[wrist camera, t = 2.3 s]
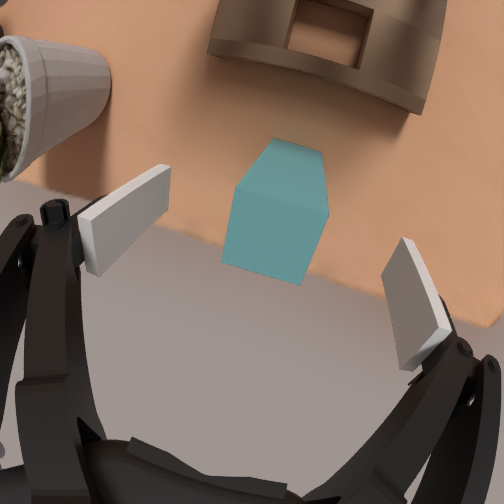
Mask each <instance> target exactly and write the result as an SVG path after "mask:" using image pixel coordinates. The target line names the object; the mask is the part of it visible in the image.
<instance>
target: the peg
mask: <svg viewBox="0 0 504 504" xmlns="http://www.w3.org/2000/svg"><path fill="white" fill-rule="evenodd" d="M328 216H329V209H328V199H327V191H326V182H325V175H324V167H323V160H322V153H321V152H320V151H316V150H313V149H310V148H307V147H303V146H300V145H297V144H293V143H290V142H286V141H283V140H279V139H275V138H273V140H272V141H271V142H270V143H269V145H268V146H267V147H266V148H265V150H264V151H263V152H262V153H261V155H260V156H259V157H258V158H257V160H256V161H255V162H254V164H253V165H252V166H251V167H250V169H249V170H248V171H247V173H246V174H245V175H244V176H243V178H242V179H241V180H240V182H239V183H238V184H237V186H236V187H235V192H234V197H233V202H232V207H231V212H230V218H229V223H228V228H227V233H226V239H225V244H224V250H223V256H222V262H223V263H226V264H229V265H233V266H236V267H239V268H243V269H246V270H249V271H253V272H256V273H259V274H263V275H266V276H269V277H273V278H276V279H279V280H283V281H286V282H290V283H293V284H297V285H300V284H301V282H302V280H303V277H304V275H305V273H306V270H307V268H308V266H309V263H310V261H311V259H312V256H313V254H314V251H315V249H316V246H317V244H318V241H319V239H320V237H321V234H322V231H323V229H324V226H325V224H326V221H327V219H328Z"/></svg>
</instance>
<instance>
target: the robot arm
mask: <svg viewBox="0 0 504 504" xmlns="http://www.w3.org/2000/svg"><path fill="white" fill-rule="evenodd" d="M2 37H3V31H2V27H1V25H0V38H2ZM170 177H171V166H167V165H163V164H158V165H157V166H155V167H153V168H151V169H150V170H148V171H146V172H144V173H143V174H141V175H139V176H137V177H136V178H134V179H132V180H131V181H129V182H127V183H126V184H124V185H123V186H121V187H119V188H118V189H116V190H115V191H113V192H112V193H110V194H107V195H104V196H101V197H99V198H97V199H95V200H94V201H92V203H89V204H88V205H87V206H86V207H84V208H82V209H81V210H79V211H78V212H77V213H75V214H74V215H72V216H71V217H70V211H69V204H68V201H67V200H64V199H54V200H50V201H48V202H46V203H44V204H43V205H42V206H41V207H40V213H41V219H42V224H43V226H41V225H35V224H34V219H33V216H32V215H30V214H22V215H19V216H17V217H16V218H14V219H13V220H12V221H11V222H10V223H9V225H8V226H7V227H6V228H5V230H4V231H3V233H2V234H1V236H0V428H1V424H2V420H3V415H4V409H5V403H6V397H7V391H8V384H9V380H10V375H11V370H12V366H13V361H14V357H15V353H16V349H17V346H18V342H19V339H20V335H21V332H22V328H23V325H24V322H25V319H26V324H25V340H24V378H23V380H22V381H18V382H17V384H16V386H15V404H16V416H17V425H18V433H19V440H20V446H21V452H22V457H23V461H24V464H23V465H19V466H15V467H11V468H7V469H2V468H1V465H0V504H407V500H406V499H405V497H404V494H405V492H406V491H407V489H408V488H409V486H410V485H411V483H412V482H413V480H414V479H415V478H416V476H417V475H418V473H419V472H420V470H421V469H422V467H423V465H424V464H425V462H426V461H427V459H428V457H429V456H430V454H431V456H430V458H429V462H428V464H427V467H426V470H425V472H424V475H423V477H422V480H421V482H420V485H419V487H418V489H417V491H416V494H415V496H414V498H413V500H412V502H411V504H484V503H485V499H486V496H487V492H488V489H489V485H490V480H491V476H492V472H493V467H494V462H495V456H496V450H497V443H498V435H499V426H500V412H501V369H500V366H499V363H498V361H497V360H496V359H495V358H494V357H493V356H491V355H486V356H485V357H484V358H483V359H482V360H481V361H480V360H478V359H476V358H475V357H473V351H472V348H471V346H470V345H469V344H468V342H467V341H465V340H464V339H463V338H461V337H458V336H457V333H456V330H455V328H454V325H453V322H452V319H451V318H450V314H449V312H448V309H447V307H446V304H445V302H444V301H443V299H442V298H441V296H440V295H439V294H438V293H437V290H436V288H435V286H434V283H433V281H432V279H431V277H430V274H429V272H428V270H427V268H426V266H425V264H424V262H423V260H422V258H421V256H420V254H419V252H418V250H417V248H416V246H415V244H414V242H413V241H412V240H410V239H407V238H405V237H402V238H401V240H400V242H399V244H398V245H397V247H396V249H395V251H394V253H393V255H392V257H391V258H390V260H389V262H388V264H387V265H386V267H385V269H384V271H383V272H382V274H381V277H382V281H383V285H384V289H385V294H386V298H387V303H388V307H389V312H390V316H391V321H392V327H393V332H394V338H395V343H396V349H397V356H398V362H399V369H400V370H406V371H412V372H413V371H414V370H415V369H416V368H417V367H418V366H419V365H420V364H422V369H423V371H422V372H421V373H420V374H418V375H417V376H416V377H415V378H414V379H413V380H412V381H411V382H410V383H408V385H411V386H410V388H409V389H408V390H407V392H406V393H405V394H404V396H403V397H402V399H401V400H400V401H399V403H398V404H397V405H396V407H395V408H394V409H393V411H392V412H391V413H390V414H389V416H388V417H387V418H386V419H385V421H384V422H383V423H382V424H381V425H380V427H379V428H378V429H377V430H376V431H375V433H374V434H373V435H372V436H371V437H370V439H368V441H367V442H366V443H365V444H364V445H363V446H362V447H361V448H360V449H359V450H358V451H357V453H355V455H354V456H353V457H352V458H351V459H350V460H349V461H348V462H347V463H346V464H345V465H344V466H343V467H342V468H340V470H338V471H337V472H336V473H335V474H334V475H333V476H332V477H331V478H330V479H329V480H328V481H326V482H325V483H324V484H322V485H321V486H319V487H317V488H315V489H314V490H312V491H310V492H309V493H307V494H306V495H305V496H303V497H302V498H301V497H299V496H298V495H297V494H295V493H293V492H291V491H289V490H287V489H286V488H287V483H280V482H273V481H268V480H262V479H257V478H252V477H224V476H208V475H204V474H202V473H200V472H199V471H197V470H195V469H194V468H192V467H190V466H189V465H187V464H185V463H184V462H182V461H180V460H179V459H178V458H176V457H174V456H173V455H171V454H170V453H168V452H166V451H163V450H161V449H159V448H156V447H154V446H152V445H149V444H147V443H145V442H143V441H140V440H138V439H136V438H134V437H132V438H131V440H130V442H129V441H122V440H107V438H106V435H105V432H104V429H103V426H102V424H101V422H100V419H99V417H98V415H97V412H96V408H95V403H94V399H93V394H92V389H91V383H90V378H89V372H88V365H87V359H86V351H85V343H84V332H83V321H82V305H81V271H80V267H79V265H81V264H82V262H83V261H85V265H86V270H87V272H89V273H92V274H94V275H96V276H98V277H100V276H101V275H102V274H103V273H104V272H105V271H106V270H107V269H108V268H109V267H110V266H111V265H112V264H113V263H114V261H116V259H117V258H119V257H120V255H121V254H122V253H123V252H124V251H125V250H126V249H127V248H128V247H129V246H130V245H131V244H132V243H134V241H135V240H136V239H137V238H139V237H140V236H141V235H142V234H143V233H144V232H145V231H146V230H147V229H148V228H149V227H150V226H151V225H152V224H153V223H154V222H155V221H157V220H158V219H159V218H160V217H161V216H162V215H163V214H164V213H165V212H166V211H167V210H168V202H169V188H170ZM18 260H19V262H20V264H19V266H18ZM473 399H474V401H473V402H472V404H471V405H470V406H469V404H470V401H471V400H473ZM431 452H432V453H431ZM4 454H5V449H4V446H3V444H2V443H1V442H0V458H2V457H3V456H4Z"/></svg>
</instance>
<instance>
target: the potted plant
mask: <svg viewBox="0 0 504 504" xmlns="http://www.w3.org/2000/svg"><path fill="white" fill-rule="evenodd" d="M110 88H111V75H110V71H109V66H108V64H107V62H106V60H105V58H104V57H103V56H102V55H101V54H100V53H99V52H96V51H94V50H92V49H88V48H84V47H79V46H74V45H69V44H63V43H57V42H51V41H44V40H36V39H30V38H28V37H26V36H4V37H2V38H0V182H4V183H5V182H8V181H11V180H13V179H14V178H15V177H17V176H18V175H19V174H20V173H21V172H23V171H24V170H25V169H26V168H27V167H29V166H30V164H31V163H32V162H33V161H34V160H36V159H37V158H38V157H40V156H41V155H43V154H44V153H46V152H47V151H49V150H50V149H51V148H53V147H55V146H56V145H58V144H59V143H61V142H62V141H64V140H65V139H67V138H69V137H70V136H72V135H74V134H75V133H77V132H79V131H80V130H82V129H84V128H85V127H87V126H88V125H90V124H91V123H93V122H94V121H95V120H96V119H97V118H98V117H99V116H100V114H101V113H102V111H103V109H104V108H105V106H106V103H107V101H108V98H109V93H110Z"/></svg>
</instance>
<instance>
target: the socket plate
mask: <svg viewBox="0 0 504 504" xmlns="http://www.w3.org/2000/svg"><path fill="white" fill-rule="evenodd" d="M299 1H300V0H220V1H219V5H218V9H217V13H216V16H215V20H214V24H213V28H212V32H211V36H210V41H209V45H208V50H207V54H210V55H213V56H216V57H223V58H231V59H238V60H245V61H251V62H257V63H262V64H267V65H272V66H277V67H281V68H286V69H290V70H294V71H298V72H302V73H306V74H309V75H313V76H316V77H320V78H323V79H326V80H330V81H333V82H336V83H339V84H342V85H345V86H348V87H351V88H353V89H356V90H359V91H361V92H364V93H367V94H369V95H372V96H374V97H377V98H379V99H381V100H384V101H386V102H388V103H391V104H393V105H395V106H397V107H400V108H402V109H404V110H406V111H408V112H410V113H414V114H417V115H421V114H422V111H423V108H424V105H425V101H426V98H427V94H428V91H429V87H430V84H431V80H432V76H433V72H434V68H435V64H436V60H437V55H438V51H439V46H440V41H441V36H442V31H443V25H444V19H445V12H446V5H447V0H310V1H315V2H319V3H323V4H327V5H330V6H334V7H337V8H341V9H344V10H347V11H350V12H353V13H356V14H359V15H362V16H365V17H368V20H367V25H366V29H365V33H364V37H363V41H362V45H361V48H360V52H359V56H358V60H357V64H356V67H355V69H354V68H351V67H348V66H345V65H342V64H339V63H336V62H333V61H329V60H326V59H323V58H319V57H316V56H312V55H308V54H304V53H300V52H296V51H292V50H288V49H287V47H288V43H289V39H290V35H291V31H292V28H293V24H294V20H295V16H296V12H297V9H298V5H299Z"/></svg>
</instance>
